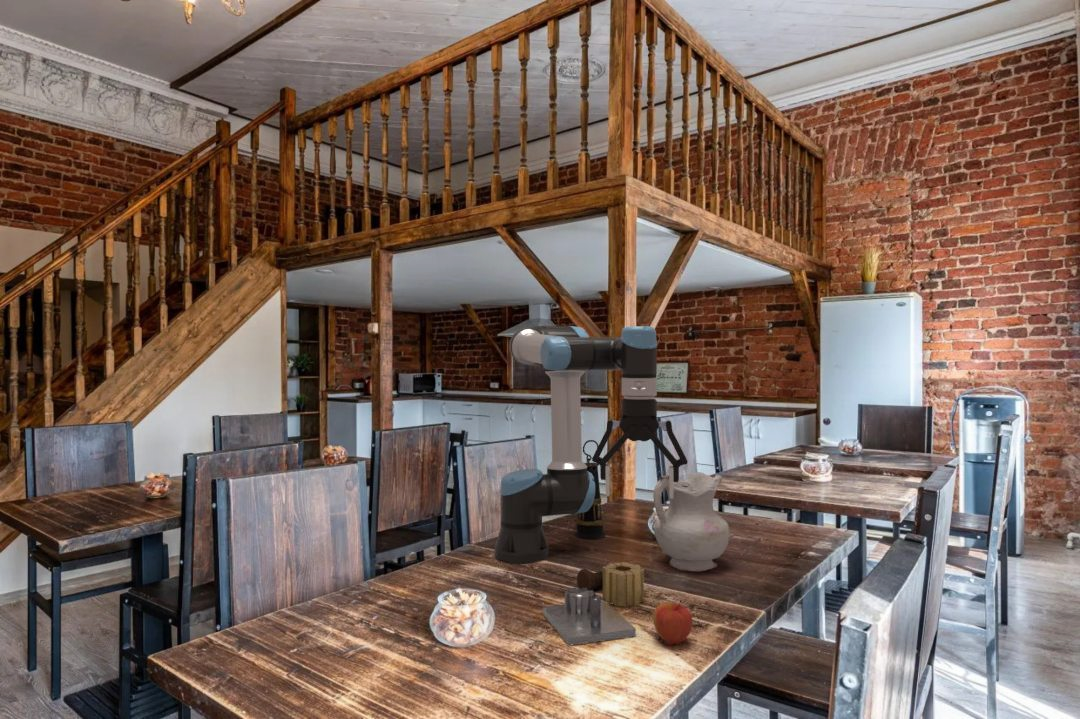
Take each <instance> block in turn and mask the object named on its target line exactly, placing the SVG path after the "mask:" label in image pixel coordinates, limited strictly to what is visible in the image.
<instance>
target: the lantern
mask: <svg viewBox="0 0 1080 719" xmlns="http://www.w3.org/2000/svg"><path fill="white" fill-rule="evenodd" d="M590 442H591V443H595V444H596V449H597V448H598V446H599V443H598V442H597V441H596V440H594V439H590V440H586V441H585V442H584V444H583V446H582V453H583V454H584V455H585V456H586V462H583V463H584V464H585V465H586V466H587V471H588V472H590V473H592V475H593V477H594V482H595V497H594V501H593V504H592V506H591V508H590V509H589V510H588V511H587V512H584V513H578V514H576V515H577V517H576V518H577V519H575V520H574V522H575V523H576V531H575V537H576V538H578V539H582V540H587V541H588V540H600V539H603V538H605V537H606V536H605V535H606V533H605V531H604V520H603V518H602V516H603V515H602V506H601V505H602V498H601V491H600V480H599V478H600V476H599V468H598V467H600V464H598V463H596V462H591V461H592V458H593V456H591V454H589V453H586V451H585V447H586V445H587V444H588V443H590Z"/></svg>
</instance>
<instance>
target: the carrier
mask: <svg viewBox="0 0 1080 719" xmlns="http://www.w3.org/2000/svg"><path fill="white" fill-rule="evenodd" d="M542 615H543V616H544V618H545V619H546V618H547V619H546V620H547V621H548V623H549V624H550V623H551V624H552V625H551V626H552V627H553V626H554V627H553V628H555V629H556V630H557V631H556V630H555V629H554V630H555V631H556V632H557V633H558V635H559V634H560V635H561V636H560V635H559V636H560V637H561V639H562V640H563V639H564V640H565V641H566V642H567V643H566V642H565V641H564V640H563V641H564V642H565V643H566V645H567V644H568V645H571V644H579V643H585V642H593V643H597V642H596V641H600V642H603V641H602V640H607V641H611V640H610V639H614V640H620V639H619V638H621V639H626V637H628V638H633V637H632V636H635V637H637V635H636V633H637V630H636V628H635V626H633V625H632V624H631V623H630V622H629V621H628V620H626V619H625V618H624V617H623V616H622V615H621V614H620V613H619V612H618V611H617V610H616V609H614V607H612V606H611V604H608V603H606V600H605V599H601V597H600V596H598V595H597V596H595V591H594V590H593V591H592V590H591V591H589V590H587V588H582V589H579V588H577V587H572V588H571V589H566V590H565V591H564V604H558V605H549V606H542ZM594 641H595V642H594ZM568 645H567V646H568ZM579 645H580V644H579Z"/></svg>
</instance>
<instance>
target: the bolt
mask: <svg viewBox="0 0 1080 719" xmlns="http://www.w3.org/2000/svg"><path fill="white" fill-rule="evenodd" d="M576 584H577V587H578V589H582V588H587V590H589V591H591V590H592V591H593V592H594V590H595V588H598V587H601V586H602V587H603V570H599V571H595V572H593V571H591V570H588V569H586V568H581V569H580V570H578V572H577V576H576Z"/></svg>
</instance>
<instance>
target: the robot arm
mask: <svg viewBox="0 0 1080 719" xmlns="http://www.w3.org/2000/svg"><path fill="white" fill-rule="evenodd" d="M508 347H509V352H510V354H511V356H512V358H513V359H514V360H515V361H517V362H518V363H521V364H522V365H527V366H533V367H535V366H536V367H537V366H538V367H543V368H544V370H545V372H544V373H545V375H547V376H548V377H549V379H550V409H551V412H550V416H551V418H550V419H551V422H550V423H551V459H552V460H551V462H550V463H549V464H548V466H546V474H545V473H543V471H542V470H541V469H538V468H537V469H536V468H531V469H530V468H529V469H528V468H526V469H520V470H514V471H511V472H508V473H507V474H504V476H503V477H502V478H501V480H500V490H499V493H500V528H499V532H498V535H497V538H496V542H495V545H494V551H493V552H494V557H495V558H496V559H497V560H500V561H502V562H507V563H515V564H525V563H526V564H528V563H535V562H540V561H543V560H545V559H546V558H548V556H549V544H548V542H547V540H546V536H545V533H544V530H543V517H551V516H561V515H562V516H563V515H573V516H574V515H578V513H579V514H581V513H584V512H587V511H588V510H589V509H590V508H591V506H592V504H593V501H594V497H595V482H594V477H593V475H592V473H590V472H588V471H587V466H586V465H585V464H584V463H585V462H584V461H583V458H582V454H583V446H582V412H581V410H582V408H581V377H582V376H583V375H584V374H585V373H586V371H616V372H617V371H621V396H622V397H623V398H622V400H621V418H620V420H613V419H608V420H607V422H606V430H605V432H604V433H603V435H602V438H601V441H600V442H599V443H598V448H597V447H596V450H595V452H594V454H593V456H592V459H591V462H592V463H598V464H599V467H600V468H599V472H600V476H599V478H600V480H601V481H605V497H610V495H611V493H610V491H611V483H610V482H611V473H610V472H611V464H610V463H608V462H609V461H610V459H611V458H613V456H614V455H615V454H616V453H617V452H618V451H619V449H620V448H621V447H622V446H623V445H624V444H625V442H627V440H629V441H632V442H639V441H641V442H648V441H649V440H651V441H652V443H653V444H654V445H655V447H657V449H659V451H660V452H661V453H662V454H663V456H664V457H665V458H666V459H667V460H668V461H669V462H670V464H671V465H669V466H668V467H669V468H668V469H669V471H668V472H669V496H670V498H672V499H673V482H678V481H679V480H680V467H682V466H683V465H687V464H688V459H687V457H686V455H685V453H684V451H683V449H682V447H681V445H680V443H679V441H678V439H677V437H676V435H675V433H674V431H673V425H672V421H671V420H670V419H667V420H664V421H659V419H658V417H657V415H658V412H657V411H658V401H657V399H656V398H655V397H657V396H658V391H657V390H658V389H657V388H658V385H657V384H658V382H657V381H658V380H657V379H658V378H657V369H658V365H657V364H658V358H657V357H658V356H657V355H658V341H657V331H656V329H655V328H654V327H653V326H646V325H643V326H642V325H640V326H639V325H638V326H637V325H633V326H625V327H623V328H622V330H621V335H620V337H605V336H604V337H603V336H602V337H601V336H600V337H591V336H589V333H588V332H587V330H586V329H584V328H583V327H581V326H580V327H579V326H573V325H531V326H526V327H523V328H520V329H519V330H517V331H515V333H513V334H512V335H511V338H510V340H509V345H508ZM618 427H619V428H620V430H621V431H622V432H623V434H622V435H621V436H620V437H619V438H618V440H616V442H615V443H614V444H613V446H612V447H611V448H610V449H609V450H608V452H606V454H605V455H603V457H601V453H602V452H603V450H604V449H605V446H606V444H607V443H608V441H609V438H610V436H611V435H612V431H615V430H617V428H618ZM659 428H662V431H664V432H666V434H667V436H668V438H669V440H670V442H671V444H672V446H673V448H674V450H675V452H676V454H677V455H678V459H677V458H676V457H675V456H674V455H673V453H671V452H670V450H669V449H668V448H667V447H666V445H664V443H663V442H662V441H661V440H660V438H659V437H658V436H657V435H656V434H655V433H656V432H657V431H658V429H659ZM669 496H668V497H669Z"/></svg>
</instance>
